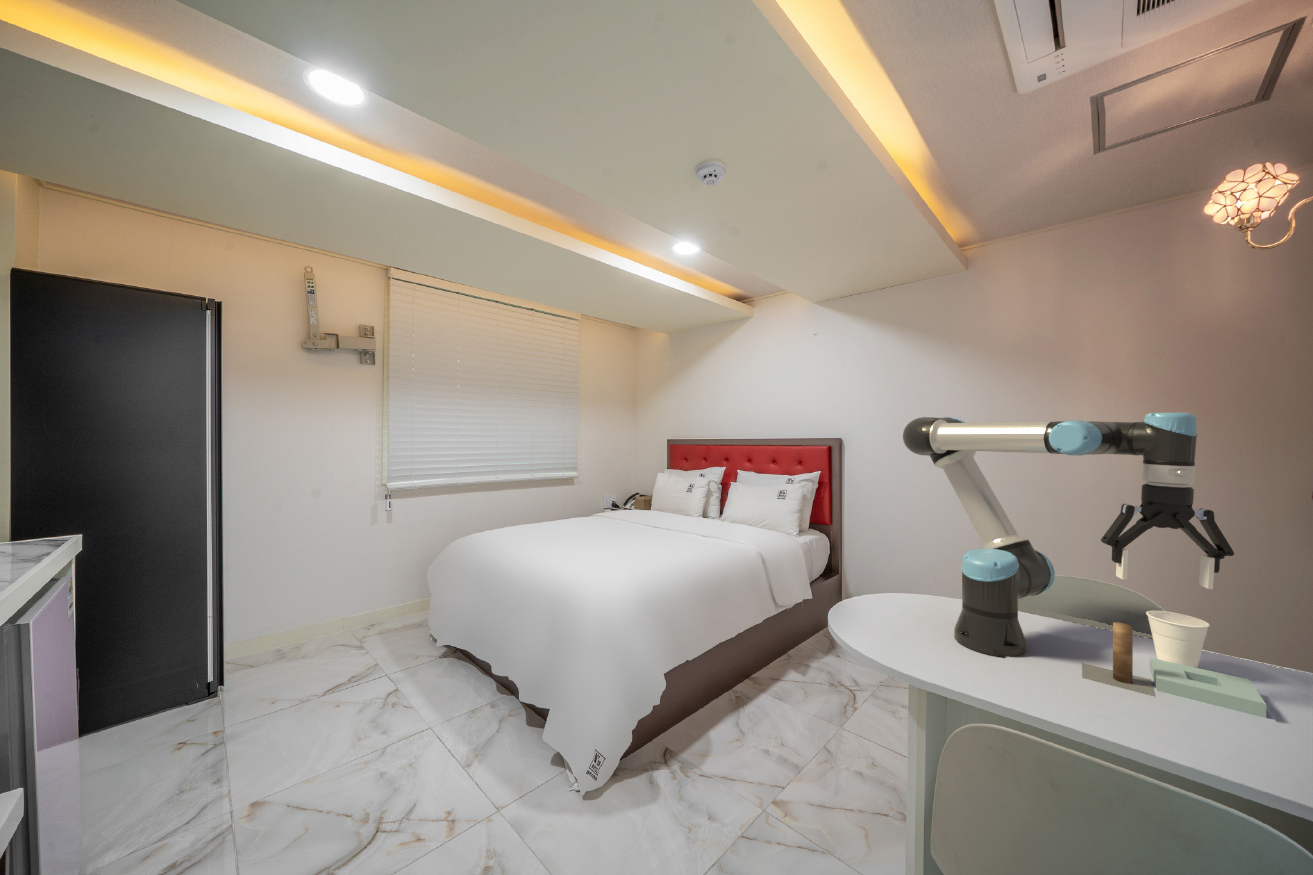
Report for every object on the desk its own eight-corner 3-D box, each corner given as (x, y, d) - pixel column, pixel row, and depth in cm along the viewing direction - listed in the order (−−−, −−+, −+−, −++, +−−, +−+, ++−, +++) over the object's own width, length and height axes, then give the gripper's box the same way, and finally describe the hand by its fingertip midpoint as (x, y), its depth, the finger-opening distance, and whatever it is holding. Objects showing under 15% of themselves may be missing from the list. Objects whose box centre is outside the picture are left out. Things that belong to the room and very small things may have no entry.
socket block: (1157, 692, 96) (1157, 677, 96) (1149, 670, 105) (1149, 657, 105) (1266, 719, 87) (1266, 704, 87) (1248, 693, 96) (1248, 679, 96)
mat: (1082, 679, 101) (1082, 677, 101) (1081, 664, 108) (1081, 662, 108) (1155, 698, 94) (1155, 696, 94) (1150, 681, 101) (1150, 679, 101)
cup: (1224, 678, 102) (1224, 628, 102) (1170, 673, 104) (1170, 624, 104) (1182, 657, 112) (1183, 611, 112) (1134, 653, 114) (1134, 608, 114)
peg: (1113, 680, 100) (1113, 625, 100) (1112, 675, 103) (1112, 621, 103) (1133, 685, 98) (1133, 629, 98) (1131, 679, 101) (1131, 624, 100)
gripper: (1101, 482, 101) (1096, 579, 101) (1264, 490, 91) (1258, 597, 92) (1084, 479, 107) (1080, 569, 108) (1235, 486, 98) (1230, 585, 99)
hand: (1162, 582), depth 100 cm, fingers open, 13 cm apart
